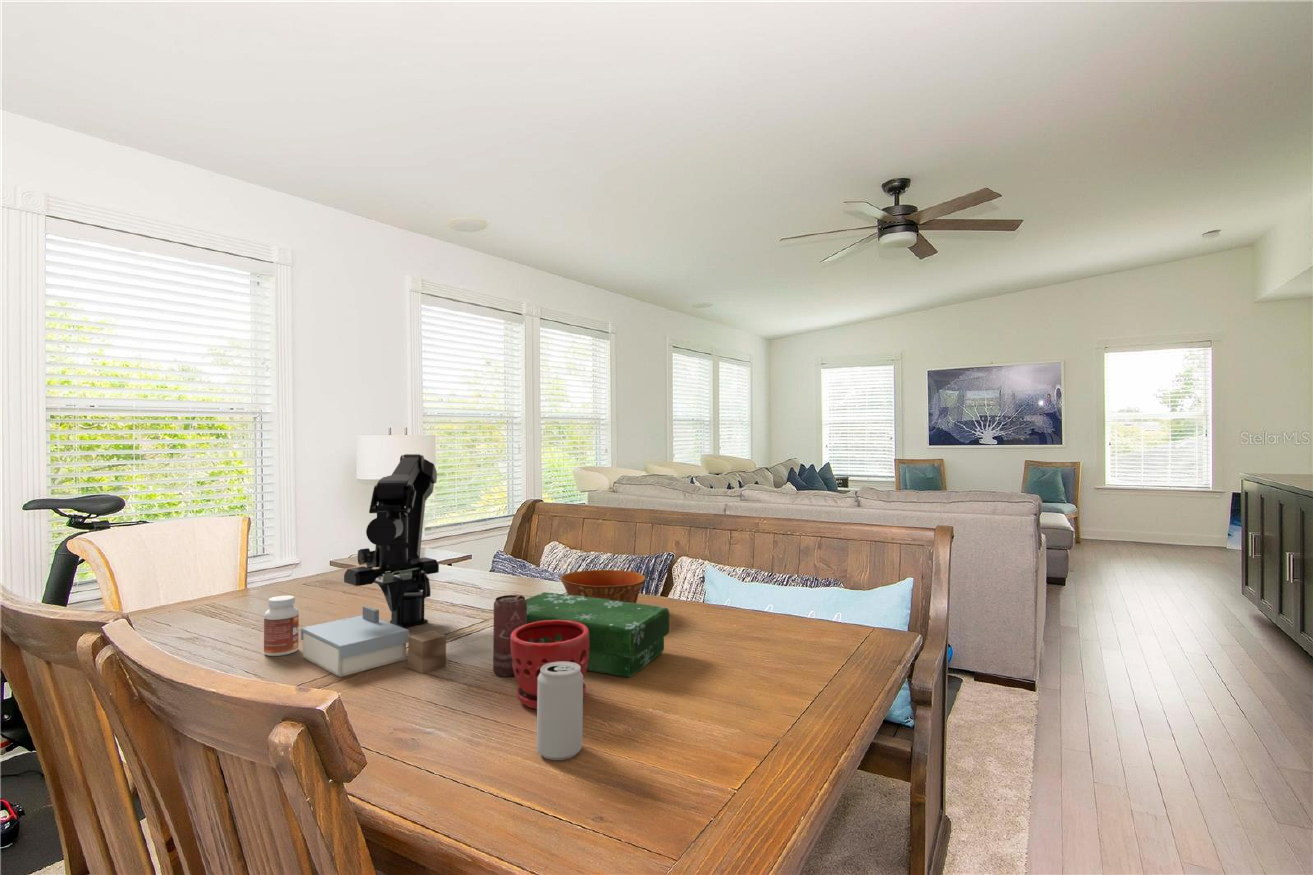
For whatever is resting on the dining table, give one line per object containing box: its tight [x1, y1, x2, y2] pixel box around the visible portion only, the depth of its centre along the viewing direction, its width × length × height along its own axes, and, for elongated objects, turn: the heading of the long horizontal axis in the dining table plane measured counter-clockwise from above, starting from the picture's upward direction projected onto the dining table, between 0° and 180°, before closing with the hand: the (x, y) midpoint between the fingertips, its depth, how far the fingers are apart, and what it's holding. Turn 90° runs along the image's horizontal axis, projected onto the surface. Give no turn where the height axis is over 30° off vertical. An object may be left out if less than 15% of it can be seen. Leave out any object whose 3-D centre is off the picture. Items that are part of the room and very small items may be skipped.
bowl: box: [560, 569, 647, 603], centre depth 163 cm, size 21×21×10 cm
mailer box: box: [302, 632, 407, 678], centre depth 131 cm, size 13×16×5 cm
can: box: [492, 594, 527, 678], centre depth 124 cm, size 6×6×14 cm
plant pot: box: [510, 620, 589, 710], centre depth 111 cm, size 13×13×12 cm
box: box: [525, 591, 670, 678], centre depth 135 cm, size 32×18×10 cm, turn 65°
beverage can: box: [536, 661, 584, 761], centre depth 93 cm, size 6×6×12 cm
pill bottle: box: [263, 595, 300, 657], centre depth 135 cm, size 6×6×11 cm
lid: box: [300, 605, 410, 659], centre depth 131 cm, size 13×17×5 cm
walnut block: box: [407, 630, 447, 674], centre depth 127 cm, size 5×5×6 cm
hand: (393, 611), depth 141 cm, fingers closed
